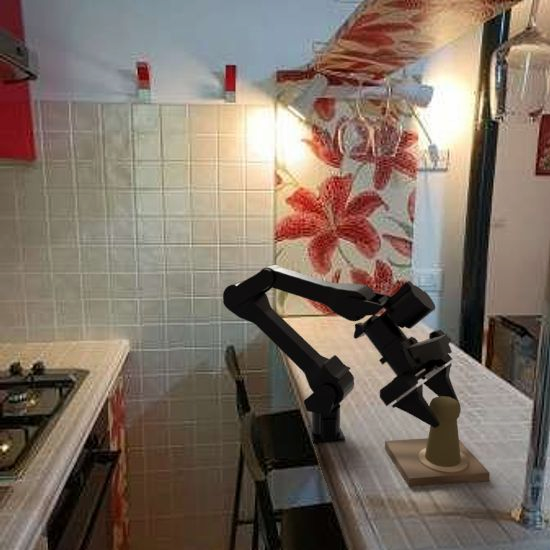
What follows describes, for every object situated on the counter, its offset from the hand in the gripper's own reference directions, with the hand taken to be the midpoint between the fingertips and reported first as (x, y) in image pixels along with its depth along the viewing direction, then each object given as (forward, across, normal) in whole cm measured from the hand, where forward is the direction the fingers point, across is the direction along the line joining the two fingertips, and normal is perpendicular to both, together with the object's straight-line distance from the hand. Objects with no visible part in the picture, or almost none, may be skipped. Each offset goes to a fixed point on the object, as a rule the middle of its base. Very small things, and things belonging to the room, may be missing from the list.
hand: (448, 416), depth 93 cm
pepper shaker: (+5, 0, +6) cm, 8 cm away
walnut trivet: (+5, 0, +8) cm, 10 cm away
